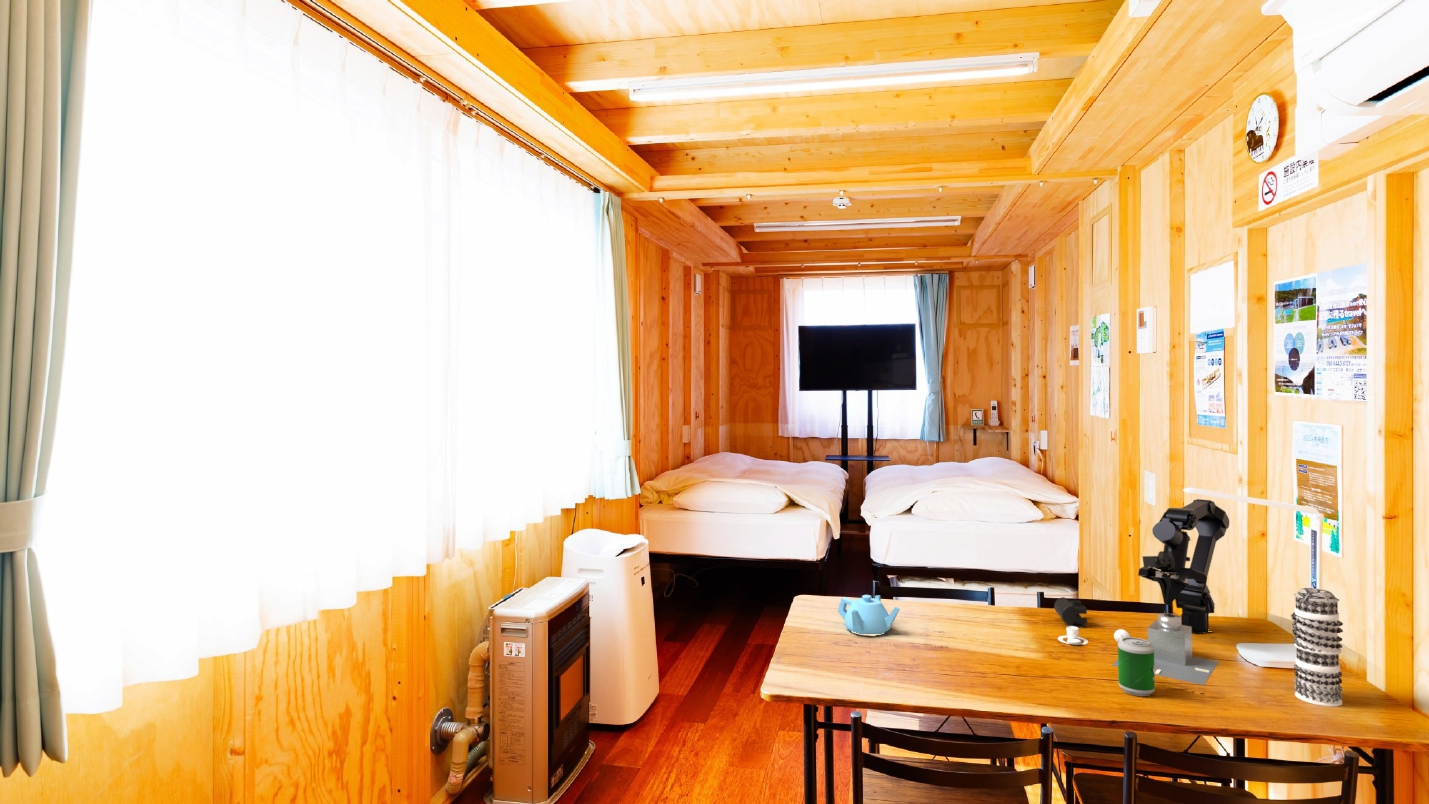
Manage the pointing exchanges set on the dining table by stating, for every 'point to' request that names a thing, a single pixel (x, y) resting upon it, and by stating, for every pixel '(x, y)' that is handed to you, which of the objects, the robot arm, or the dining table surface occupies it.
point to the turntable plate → (1178, 666)
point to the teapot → (866, 615)
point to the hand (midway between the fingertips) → (1166, 604)
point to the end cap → (1071, 612)
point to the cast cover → (1170, 639)
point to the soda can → (1136, 666)
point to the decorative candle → (1317, 647)
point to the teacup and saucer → (1072, 636)
